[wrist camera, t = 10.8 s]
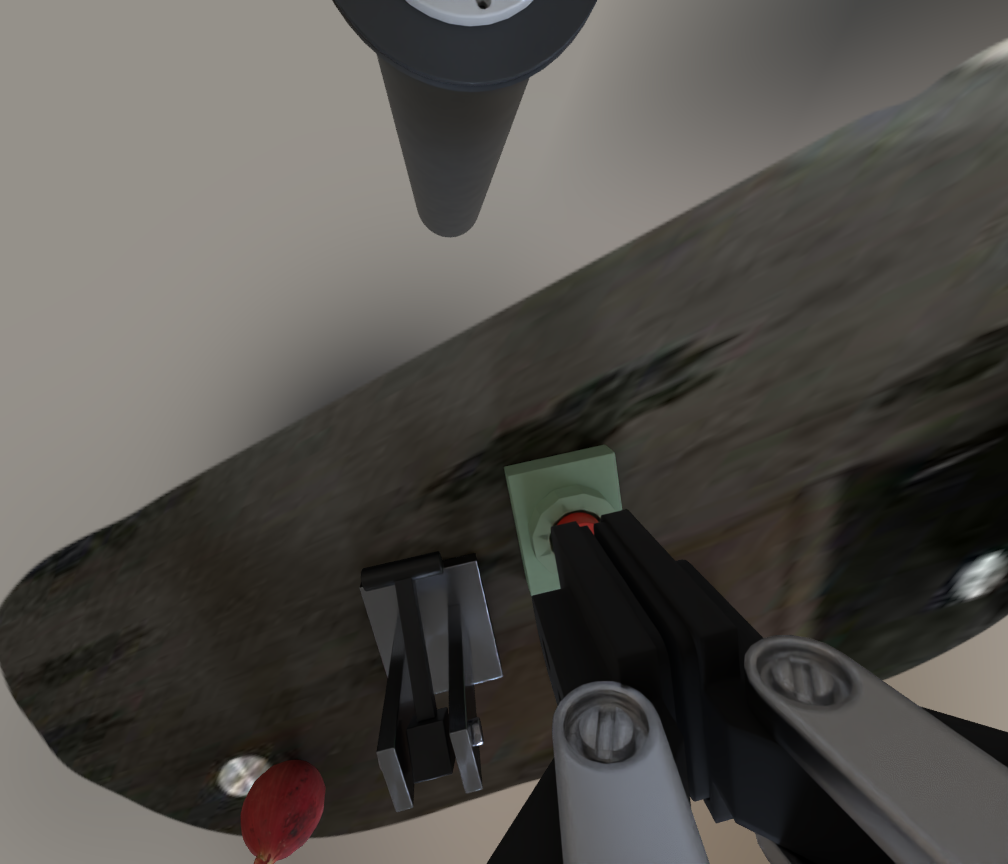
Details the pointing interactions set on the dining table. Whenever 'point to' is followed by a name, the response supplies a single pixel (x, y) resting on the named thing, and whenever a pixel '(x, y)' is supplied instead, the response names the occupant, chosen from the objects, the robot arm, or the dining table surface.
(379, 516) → the dining table surface
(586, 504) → the button housing
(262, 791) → the onion
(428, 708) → the press lever
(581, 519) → the red button
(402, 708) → the lever bracket
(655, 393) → the dining table surface
